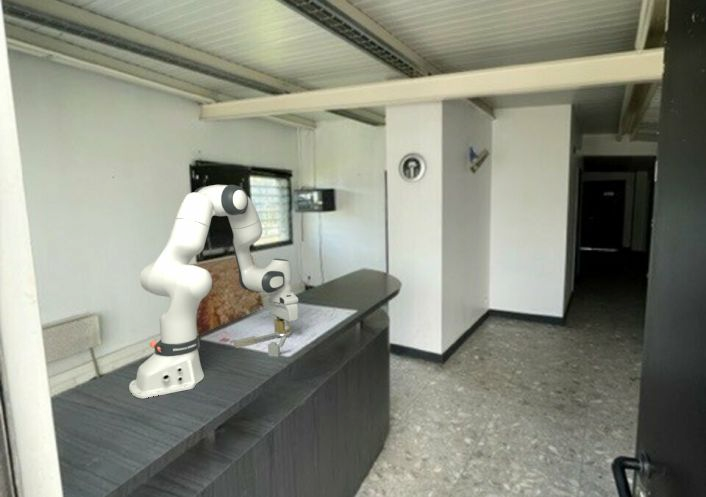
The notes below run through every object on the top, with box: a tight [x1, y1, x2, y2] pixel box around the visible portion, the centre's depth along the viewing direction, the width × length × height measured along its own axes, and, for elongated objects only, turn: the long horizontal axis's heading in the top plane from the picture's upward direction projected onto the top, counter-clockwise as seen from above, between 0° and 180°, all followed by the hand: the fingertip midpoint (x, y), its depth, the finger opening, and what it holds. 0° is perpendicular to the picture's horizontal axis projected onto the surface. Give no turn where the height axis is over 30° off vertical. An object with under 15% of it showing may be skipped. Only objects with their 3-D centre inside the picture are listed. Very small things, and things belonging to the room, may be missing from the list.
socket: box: [274, 318, 292, 334], centre depth 186 cm, size 5×5×5 cm
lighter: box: [267, 336, 287, 358], centre depth 163 cm, size 7×2×8 cm, turn 74°
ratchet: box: [233, 330, 292, 349], centre depth 180 cm, size 25×7×6 cm, turn 129°
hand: (282, 327), depth 186 cm, fingers closed on socket, 5 cm apart
